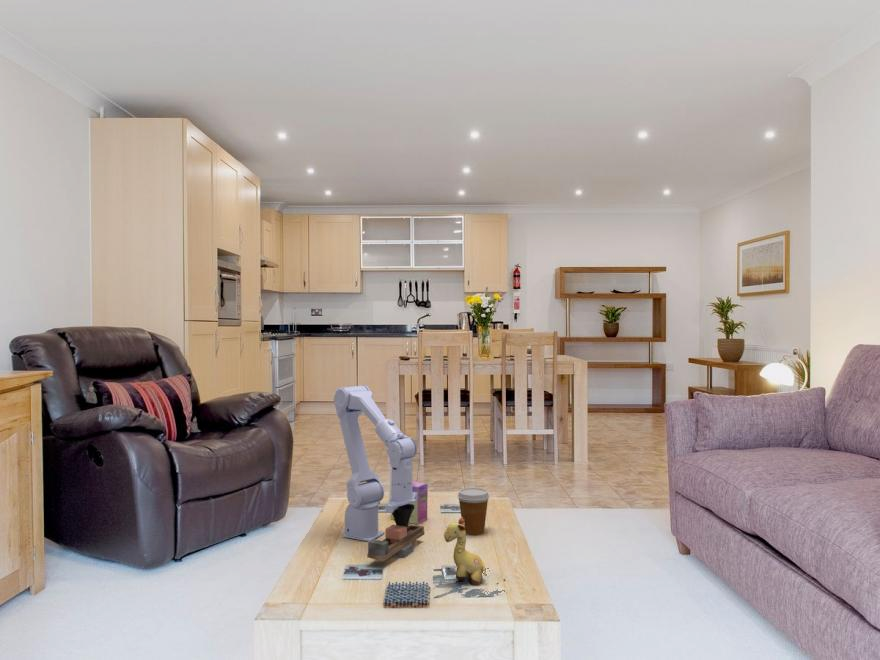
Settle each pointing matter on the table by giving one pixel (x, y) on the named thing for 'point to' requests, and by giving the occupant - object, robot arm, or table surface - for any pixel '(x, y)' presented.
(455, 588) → the stuffed giraffe
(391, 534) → the block
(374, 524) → the robot arm
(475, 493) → the disposable coffee cup
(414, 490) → the box
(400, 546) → the beam
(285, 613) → the table surface
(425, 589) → the spiky bristle mat
